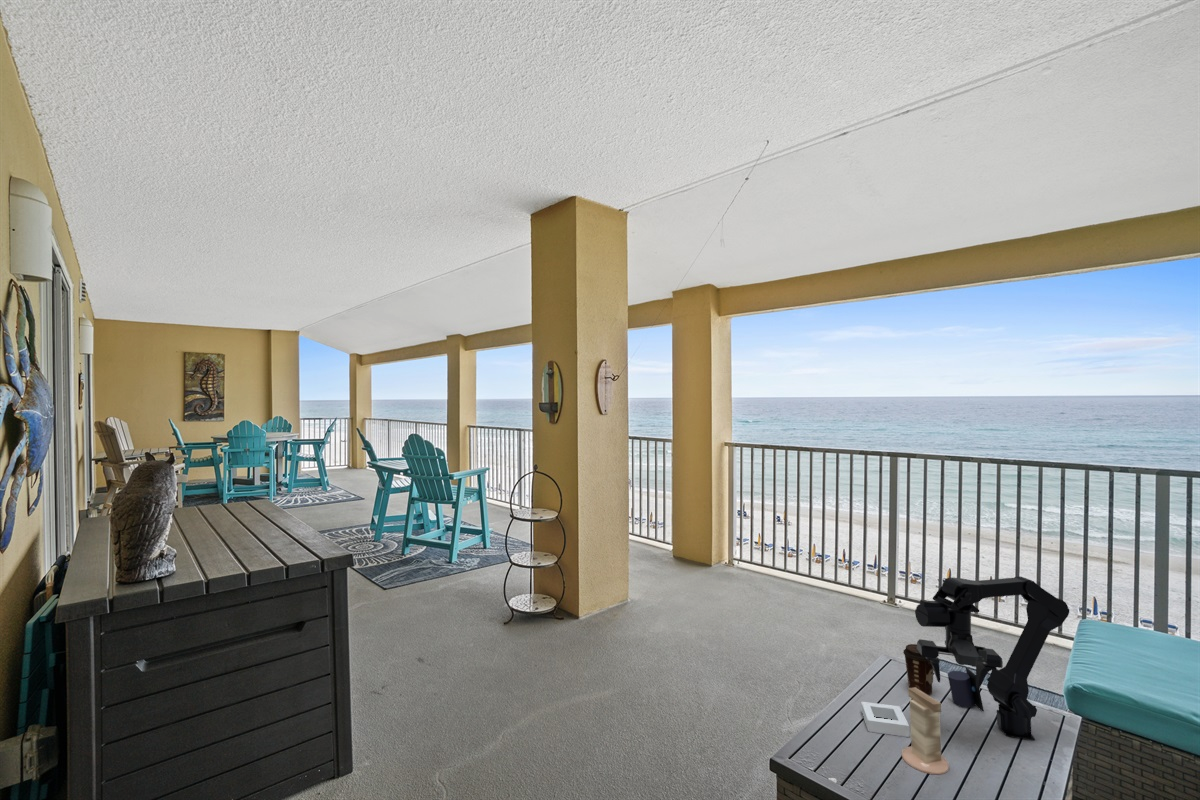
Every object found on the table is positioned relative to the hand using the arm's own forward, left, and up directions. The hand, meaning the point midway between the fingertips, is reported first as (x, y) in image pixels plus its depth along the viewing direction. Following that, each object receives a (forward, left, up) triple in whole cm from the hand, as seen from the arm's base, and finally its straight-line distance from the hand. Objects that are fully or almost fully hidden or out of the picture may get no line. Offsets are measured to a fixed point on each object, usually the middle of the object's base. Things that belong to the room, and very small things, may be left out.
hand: (958, 684), depth 144 cm
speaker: (-6, -16, -13) cm, 22 cm away
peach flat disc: (+13, +16, -13) cm, 24 cm away
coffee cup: (+4, -22, -13) cm, 26 cm away
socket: (+19, +1, -13) cm, 23 cm away
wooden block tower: (+12, +14, -12) cm, 22 cm away
